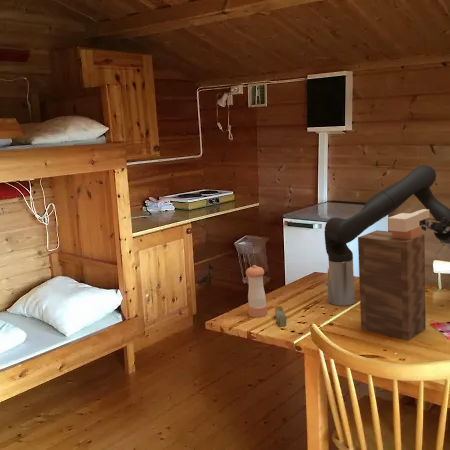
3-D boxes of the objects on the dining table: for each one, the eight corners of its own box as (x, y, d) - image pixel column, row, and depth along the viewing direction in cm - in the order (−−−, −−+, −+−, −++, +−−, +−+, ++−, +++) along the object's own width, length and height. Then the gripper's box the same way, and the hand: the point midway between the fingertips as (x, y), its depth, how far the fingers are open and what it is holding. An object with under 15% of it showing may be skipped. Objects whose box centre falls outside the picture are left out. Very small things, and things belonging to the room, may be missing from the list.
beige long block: (417, 219, 186) (417, 207, 185) (434, 220, 181) (434, 208, 181) (388, 230, 172) (387, 217, 171) (405, 231, 168) (405, 219, 167)
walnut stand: (379, 318, 193) (376, 230, 187) (425, 328, 181) (424, 234, 175) (361, 329, 185) (357, 237, 179) (408, 340, 173) (406, 242, 167)
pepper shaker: (244, 315, 207) (240, 266, 204) (256, 309, 213) (253, 261, 209) (259, 318, 202) (255, 268, 199) (271, 312, 208) (268, 264, 204)
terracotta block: (402, 233, 179) (402, 224, 179) (421, 235, 175) (421, 226, 174) (392, 237, 175) (391, 228, 174) (411, 239, 170) (411, 230, 169)
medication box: (286, 327, 193) (286, 316, 192) (279, 327, 193) (278, 316, 192) (281, 315, 205) (281, 305, 204) (274, 316, 205) (274, 305, 204)
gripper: (431, 222, 203) (413, 207, 192) (471, 225, 193) (454, 210, 182) (427, 241, 202) (409, 227, 191) (466, 245, 192) (449, 231, 181)
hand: (431, 219), depth 186 cm, fingers open, 8 cm apart
